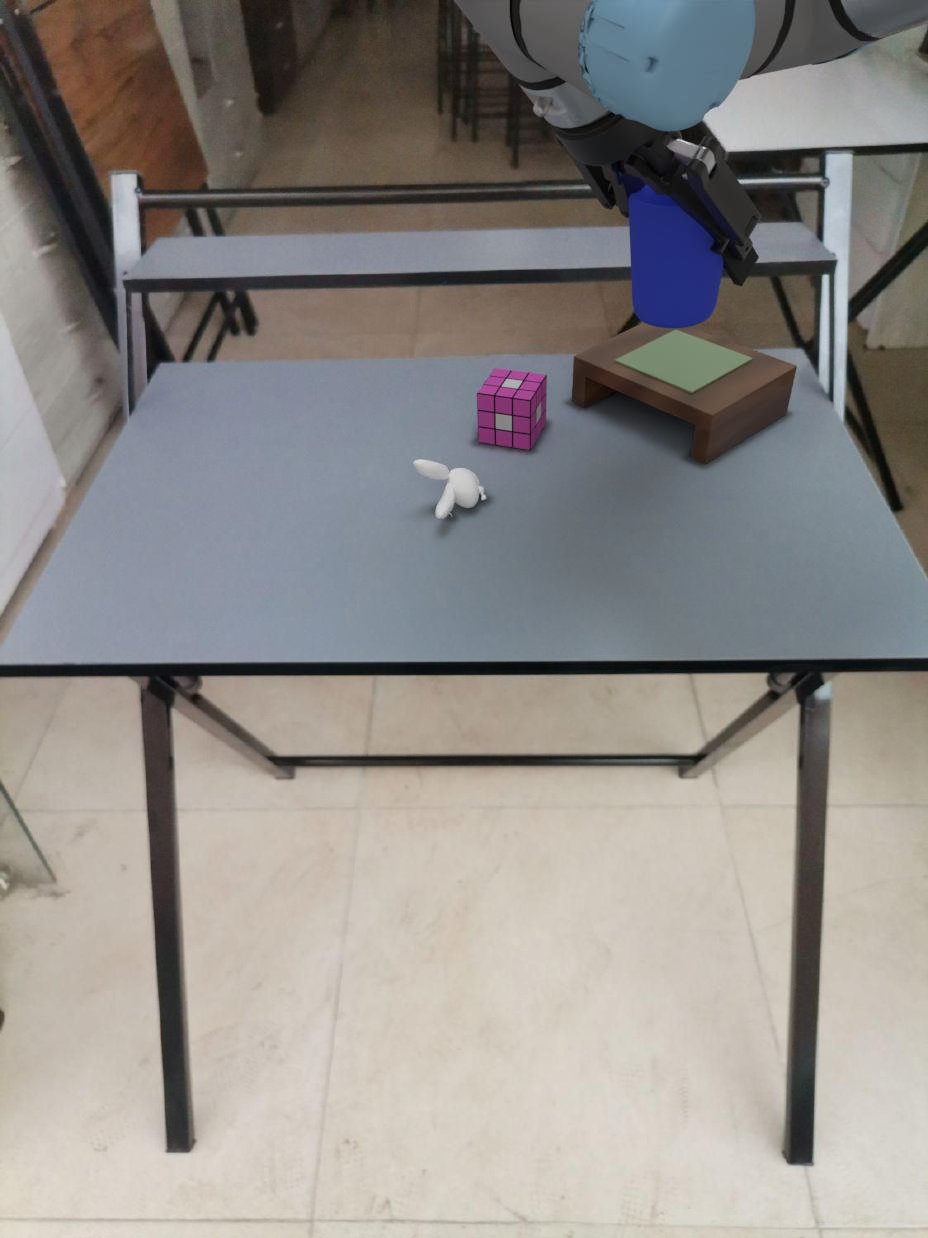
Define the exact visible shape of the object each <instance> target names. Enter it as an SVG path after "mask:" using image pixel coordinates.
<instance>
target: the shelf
mask: <svg viewBox="0 0 928 1238" xmlns="http://www.w3.org/2000/svg"><path fill="white" fill-rule="evenodd" d="M797 368H798V365H796V364H794V363H792V362H791V363H790V362H788V361H785V360H782V359H780V358H776V357H774V356H771V355H769V354H766V353H763V352H761V351H757V350H755V349H752V348H749V347H747V346H744V345H741V344H739V343H736V342H733V341H730V340H728V339H725V338H723V337H719V336H716V335H713V334H711V333H708V332H705V331H703V330H700V329H698V328H695V327H693V326H690V327H684V328H661V327H655V326H652V325H649V324H646V323H644V322H641V323H640V324H638V325H635V326H634V327H631V328H629V329H627V330H625V331H622V332H620V333H619V334H617V335H615V336H612V337H611V338H608V339H606V340H604V341H602V342H600V343H598V344H596V345H594V346H592V347H590V348H588V349H585V350H584V351H581V352H579V353H577V354H575V355H574V356H573V363H572V384H571V385H572V386H571V388H572V389H571V403H572V404H574V405H576V406H577V407H580V408H583V409H585V408H587V407H589V406H591V405H593V404H595V403H597V402H598V401H600V400H602V399H604V398H606V397H608V396H609V395H612V394H614V393H615V392H619V393H621V394H624V395H626V396H628V397H630V398H631V399H634V400H638V401H640V402H642V403H644V404H646V405H648V406H651V407H653V408H655V409H657V410H660V411H661V412H664V413H667V414H669V415H671V416H674V417H675V418H677V419H681V420H683V421H685V422H687V423H689V424H691V425H694V432H693V439H692V446H691V453H690V458H691V459H692V460H694V461H696V462H698V463H700V464H703V465H707V464H708V463H710V462H711V461H713V460H715V459H717V458H718V457H720V456H721V455H723V454H724V453H726V452H727V451H729V450H731V449H732V448H734V447H735V446H737V445H739V444H740V443H742V442H744V441H745V440H747V439H748V438H751V436H754V434H756V433H758V432H760V431H761V430H763V429H764V428H766V427H768V426H769V425H770V424H772V423H774V422H775V421H777V420H779V419H781V418H783V416H785V415H787V414H788V410H789V405H790V400H791V395H792V391H793V386H794V381H795V378H796V373H797Z"/></svg>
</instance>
